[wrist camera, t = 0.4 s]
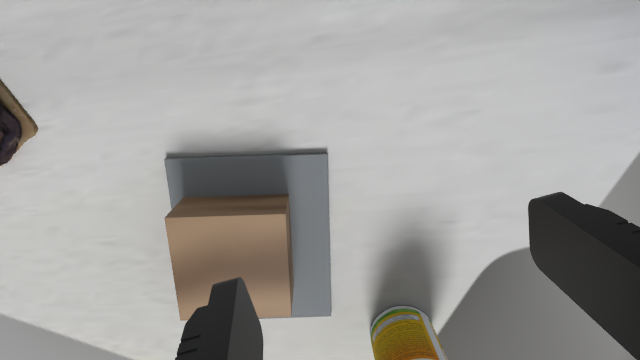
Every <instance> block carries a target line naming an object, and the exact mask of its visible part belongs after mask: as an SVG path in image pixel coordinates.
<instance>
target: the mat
mask: <svg viewBox="0 0 640 360" xmlns="http://www.w3.org/2000/svg"><path fill="white" fill-rule="evenodd" d="M164 160H165V167H166V174H167V181H168V187H169V194H170V201H171V208H172V209H173V208H174V207H175V206H176V205H177V204H178V203H179V202H180V201H181V199H182V198H183V197H213V196H244V195H275V194H289V206H290V224H291V243H292V261H293V280H294V290H293V303H292V315H291V317H268V318H293V317H322V316H331V288H330V244H329V200H328V156H327V153H316V154H283V155H251V156H219V157H187V158H166V159H164ZM258 319H264V318H258Z"/></svg>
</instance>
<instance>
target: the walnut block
mask: <svg viewBox="0 0 640 360" xmlns="http://www.w3.org/2000/svg"><path fill="white" fill-rule="evenodd" d="M165 224H166V230H167V237H168V243H169V249H170V256H171V262H172V269H173V275H174V282H175V288H176V295H177V301H178V307H179V314H180V320H189V318H190V317H191V316H192V314H193V313H194V312H195V310H196V309H197V308H199V307H203V306H206V305H208V301H209V297H210V293H211V289H212V286H213V284H215V283H219V282H223V281H226V280H230V279H234V278H238V277H241V278H242V279H243V280H244V282H245V285H246V287H247V290H248V293H249V295H250V298H251V300H252V303H253V306H254V308H255V311H256V314H257V316H258V318H268V317H291V315H292V303H293V290H294V280H293V261H292V243H291V224H290V206H289V194H275V195H244V196H213V197H183V198H182V199H181V201H180V202H179V203H178V204H177V205H176V206H175V207H174V208H173V209H172V210H171V211H170V213H169V214H168V215H167V216H166V217H165Z"/></svg>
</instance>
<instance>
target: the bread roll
mask: <svg viewBox="0 0 640 360" xmlns="http://www.w3.org/2000/svg"><path fill="white" fill-rule="evenodd" d="M37 131H38V127H37V125H36V123H35V122H34V121H33V119H32V118H31V117H30V116H29V115H28V114H27V113H26V111H25V110H24V109H23V107H22V106H21V105H20V104H19V103H18V101H17V100H16V99H15V98H14V96H13V95H12V94H11V92H10V91H9V90H8V89H7V87H6V86H5V85H4V84H3V83H2V81H1V80H0V166H1V165H3V164H5V163H8V161H9V160H10V159H11V158H12V156H13V154H15V153H16V151H17V150H18V149H19V148H20V146H22V145H23V143H24V142H26V141H27V140H28V139H29V138H31V137H33V136H35V134H36V132H37Z"/></svg>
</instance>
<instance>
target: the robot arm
mask: <svg viewBox="0 0 640 360" xmlns="http://www.w3.org/2000/svg"><path fill="white" fill-rule="evenodd" d="M528 214H529V238H530V251H531V255H532V258H533V260H534V262H535V264H536V265H537V267H538V268H539V269H540V270H541V271H542V272H543V273H544V274H545V275H546V276H547V277H548V278H549V279H550V280H551V281H553V282H554V283H555V284H556V285H557V286H558V287H559V288H560V289H561V290H562V291H563V292H564V293H565V294H567V295H568V296H569V297H570V298H571V299H572V300H573V301H574V302H575V303H576V304H577V305H578V306H580V307H581V308H582V309H583V310H584V311H585V312H586V313H587V314H588V315H589V316H590V317H591V318H592V319H593V320H595V321H596V322H597V323H598V324H599V325H600V326H601V327H602V328H603V329H604V330H605V331H606V332H608V333H609V334H610V335H611V336H612V337H613V338H614V339H615V340H616V341H617V342H618V343H619V344H621V345H622V346H623V347H624V348H625V349H626V350H627V351H628V352H629V353H630V354H631V355H632V356H633V357H634V358H635V359H637V360H640V227H638V226H636V225H634V224H633V223H628V221H627V220H626V219H624V218H622V217H620V216H618V215H617V214H615V213H613V212H611V211H609V210H606V209H602V208H599V207H595V206H592V205H588V204H585V205H584V204H582V203H580V202H579V201H577V200H575V199H573V198H572V197H570V196H568V195H567V194H565V193H563V192H557V193H553V194H550V195H546V196H542V197H539V198H535V199H532V200H531V201H530V202H529V206H528ZM175 360H263V335H262V329H261V325H260V322H259V319H258V316H257V314H256V311H255V308H254V306H253V303H252V300H251V298H250V295H249V293H248V290H247V287H246V285H245V282H244V280H243V279H242V278H241V277H238V278H234V279H230V280H226V281H223V282H219V283H215V284H213V286H212V289H211V293H210V297H209V301H208V305H206V306H203V307H199V308H197V309H196V310H195V312H194V313H193V314H192V316H191V317H190V318H189V320H188V321H187V323H186V324H185V327H184V331H183V334H182V338H181V343H180V344H179V348H178V351H177V357H176V358H175Z"/></svg>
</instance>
